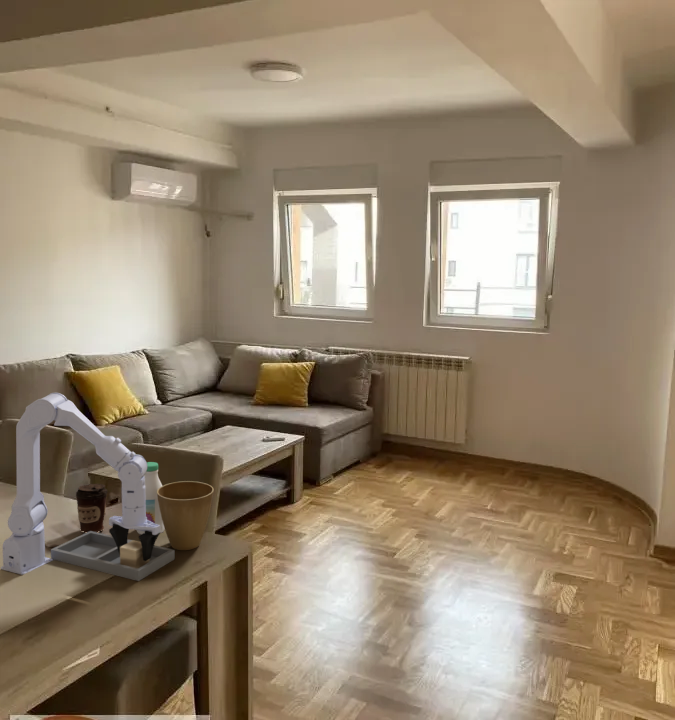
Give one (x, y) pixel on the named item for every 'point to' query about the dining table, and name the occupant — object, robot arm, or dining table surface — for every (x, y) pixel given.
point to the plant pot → (185, 512)
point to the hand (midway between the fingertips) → (134, 556)
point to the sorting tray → (107, 556)
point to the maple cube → (132, 555)
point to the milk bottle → (152, 495)
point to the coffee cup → (91, 507)
